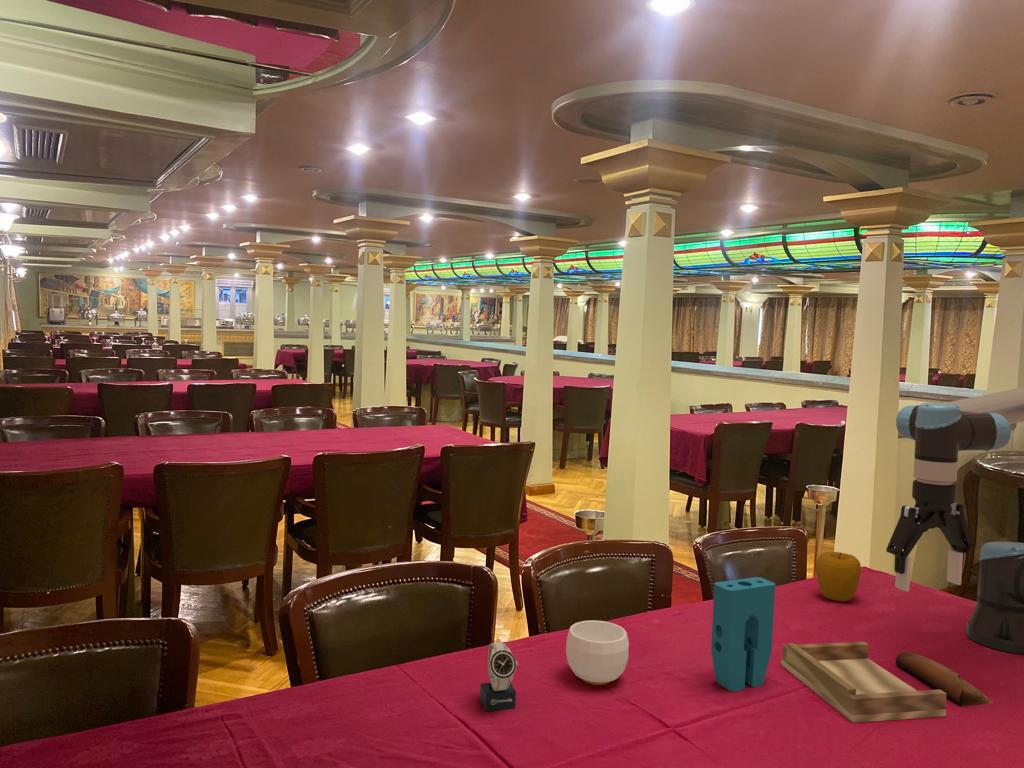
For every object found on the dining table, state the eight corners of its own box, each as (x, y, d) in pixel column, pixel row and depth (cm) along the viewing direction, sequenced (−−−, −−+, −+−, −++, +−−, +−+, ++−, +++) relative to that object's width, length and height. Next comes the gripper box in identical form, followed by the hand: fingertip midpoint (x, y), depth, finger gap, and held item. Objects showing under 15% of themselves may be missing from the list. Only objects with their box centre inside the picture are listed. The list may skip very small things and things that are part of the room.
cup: (639, 679, 148) (642, 631, 148) (602, 700, 139) (605, 649, 139) (589, 659, 157) (591, 614, 156) (552, 678, 148) (553, 630, 147)
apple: (819, 604, 195) (822, 556, 194) (810, 591, 206) (812, 544, 205) (864, 608, 193) (867, 559, 193) (852, 594, 204) (855, 548, 203)
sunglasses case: (998, 703, 143) (985, 675, 142) (969, 724, 142) (956, 695, 141) (929, 663, 161) (916, 637, 160) (903, 681, 160) (890, 655, 159)
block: (754, 672, 153) (759, 576, 152) (772, 683, 149) (777, 584, 147) (707, 682, 148) (712, 583, 147) (724, 693, 144) (729, 591, 142)
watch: (488, 717, 132) (490, 655, 131) (477, 695, 139) (479, 637, 139) (518, 713, 133) (520, 653, 133) (506, 692, 141) (508, 635, 140)
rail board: (862, 660, 161) (863, 636, 161) (945, 716, 137) (947, 688, 137) (781, 664, 158) (782, 640, 157) (852, 722, 134) (854, 694, 134)
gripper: (964, 474, 156) (958, 574, 158) (870, 480, 148) (864, 585, 150) (998, 481, 149) (991, 586, 151) (901, 487, 141) (895, 598, 142)
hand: (928, 586), depth 150 cm, fingers open, 13 cm apart
